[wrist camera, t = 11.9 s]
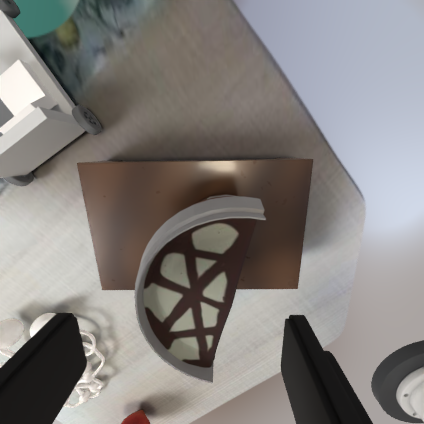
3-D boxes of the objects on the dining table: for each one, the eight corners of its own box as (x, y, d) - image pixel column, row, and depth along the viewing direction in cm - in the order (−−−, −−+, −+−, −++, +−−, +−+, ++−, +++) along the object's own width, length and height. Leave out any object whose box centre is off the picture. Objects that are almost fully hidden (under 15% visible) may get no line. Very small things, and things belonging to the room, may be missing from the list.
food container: (178, 165, 19) (140, 178, 9) (242, 180, 19) (269, 208, 9) (158, 277, 22) (114, 371, 13) (212, 288, 22) (210, 389, 13)
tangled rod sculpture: (128, 383, 36) (120, 412, 32) (49, 400, 36) (31, 431, 32) (88, 296, 30) (72, 318, 26) (-7, 316, 30) (-38, 341, 26)
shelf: (291, 157, 24) (313, 159, 18) (281, 263, 28) (297, 289, 22) (106, 160, 24) (76, 163, 19) (123, 264, 28) (102, 290, 23)
